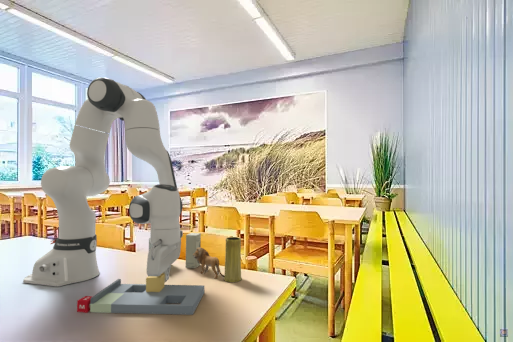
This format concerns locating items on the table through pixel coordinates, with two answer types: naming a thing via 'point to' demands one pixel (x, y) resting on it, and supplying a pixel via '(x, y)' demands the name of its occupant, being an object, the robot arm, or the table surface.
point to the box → (192, 249)
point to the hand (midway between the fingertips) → (164, 281)
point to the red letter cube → (84, 304)
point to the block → (155, 283)
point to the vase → (233, 259)
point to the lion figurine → (207, 261)
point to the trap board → (147, 299)
